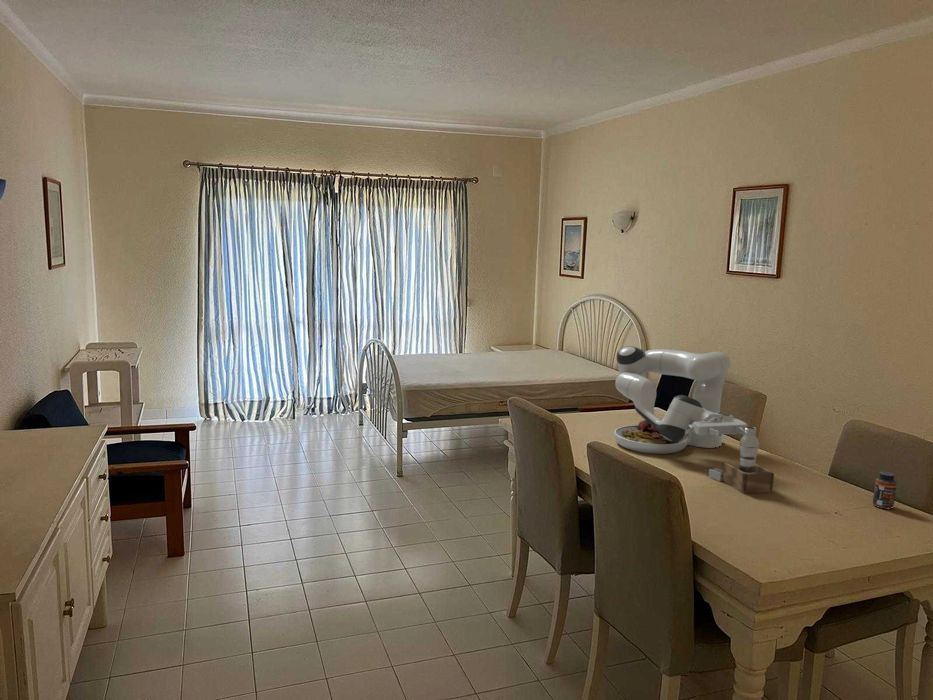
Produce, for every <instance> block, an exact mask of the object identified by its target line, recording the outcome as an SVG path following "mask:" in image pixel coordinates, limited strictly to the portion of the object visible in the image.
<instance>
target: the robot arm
mask: <svg viewBox="0 0 933 700" xmlns="http://www.w3.org/2000/svg"><path fill="white" fill-rule="evenodd" d="M616 362H617V365H618V371H619V374H618V376H617V377H616V378H615V388H616V390H617V391H618V392H619V393H620V394H622V395H623V396H624V397H626V398H627V399H629V400H631V401H632V402H633V403H634V410H635V412H636V413H637V414H638V415H639V416H640V417H641V418H642V419H644V420H646V421H647V422H648V423H650V424H651V426H653V427H654V428H655V429H656V430H657V431H658V432H659V433H660V434H661V435H662V436H663V437H664V438H666V439H668V440H670V441H673V442H676V441H679V440H681V439H683V437H684V435H687V436H688V443H687V445H686V446H693V447H696V448H697V447H698V448H707V449H708V448H709V449H713V448H715V447H716V448H719V446H720V447H721V446H722V443H723V444H725V441H724V439H723V435H736V434H737V435H740V436H744V435H745V433H744V431H745V427H748V423H746V422H745V421H742V420H741V419H738V418H736V417H735V418H734V415H731V414H723V413H722V412H721V400H722V393H723V388H724V384H725V381H726V377H727V374H728V372H729V370H730V368H731V361H730V358H729V356H728V355H727V354H725V353H724V352H721V351H710V352H706V353H705V352H704V353H694V352H689V351H685V350H679V349H664V348H661V349H659V348H656V349H654V348H653V349H648V350H646V351H644V350H643V349H641V348H639V347H636V346H632V345H628V346H624V347H622V348H620V349H619V350H618V351H617V353H616ZM647 373H654V374H659V375H663V376H664V375H666V376H674V377H681V378H682V377H683V378H687V379H690V380H695V381H697V383H696V387H695V388H694V390H693V393H692V395H693V396H692V397H690V396H687V395H685V394H680V395H676V396H674V397H673V399H672V401H671V403H669V406H668V409H667V411H666V412H665V414H664V416H663V418H662V419H661V417H658V415H656V413H655V404H656V403H655V402H656V398H657V389H656V386H655V384H654V382H653V381H651V380H650V378H649V379H648V377H647Z"/></svg>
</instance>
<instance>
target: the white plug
mask: <svg viewBox="0 0 933 700" xmlns="http://www.w3.org/2000/svg"><path fill="white" fill-rule="evenodd" d="M704 472H706V473H707V474H708V478H709V477H710V479H712V478H713V479H712V480H715V479H716V481H717V480H718V481H717V482H723V481H722V478H723V469H718V468H715V467H713V469H711V468H709V469H707V468H704Z"/></svg>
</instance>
